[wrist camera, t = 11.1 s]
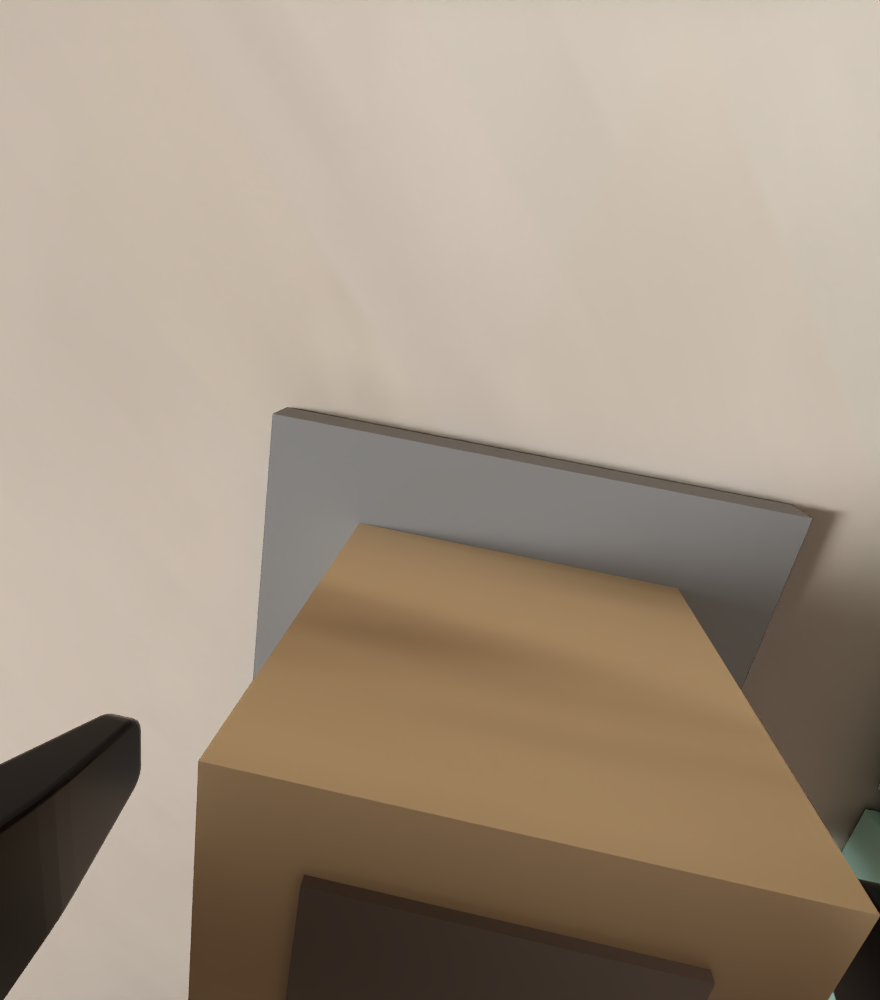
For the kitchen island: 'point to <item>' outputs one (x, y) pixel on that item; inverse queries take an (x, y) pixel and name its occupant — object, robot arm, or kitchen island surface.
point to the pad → (517, 522)
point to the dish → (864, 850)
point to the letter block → (506, 801)
